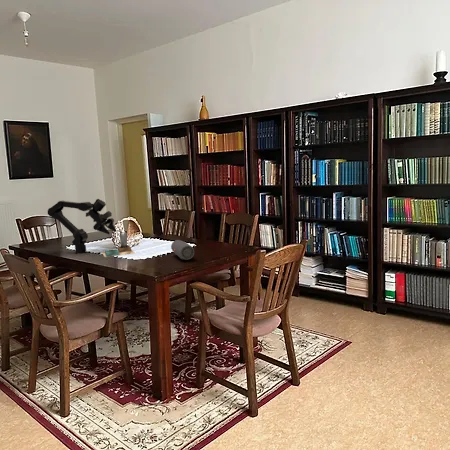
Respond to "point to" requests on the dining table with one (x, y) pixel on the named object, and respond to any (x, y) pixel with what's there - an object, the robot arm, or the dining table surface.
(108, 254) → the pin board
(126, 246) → the pin
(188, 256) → the bluetooth speaker
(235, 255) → the dining table surface
